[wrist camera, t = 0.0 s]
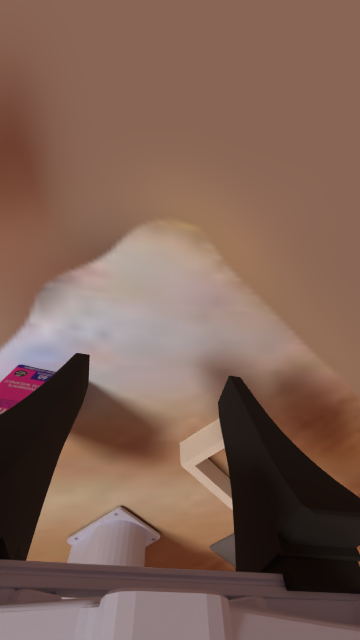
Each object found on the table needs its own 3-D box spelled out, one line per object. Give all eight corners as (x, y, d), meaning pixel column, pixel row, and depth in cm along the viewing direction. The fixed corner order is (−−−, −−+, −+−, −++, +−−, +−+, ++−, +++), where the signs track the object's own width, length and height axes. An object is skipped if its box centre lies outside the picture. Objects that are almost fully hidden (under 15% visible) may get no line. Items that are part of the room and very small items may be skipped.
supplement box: (80, 373, 25) (18, 488, 14) (72, 420, 27) (13, 551, 16) (17, 360, 24) (-98, 473, 14) (14, 410, 26) (-89, 541, 16)
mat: (240, 569, 39) (241, 571, 39) (210, 546, 36) (210, 548, 36) (286, 546, 38) (287, 549, 37) (257, 521, 35) (258, 523, 35)
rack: (258, 515, 34) (266, 539, 32) (179, 443, 29) (180, 465, 26) (314, 485, 33) (327, 508, 30) (242, 403, 27) (250, 422, 25)
